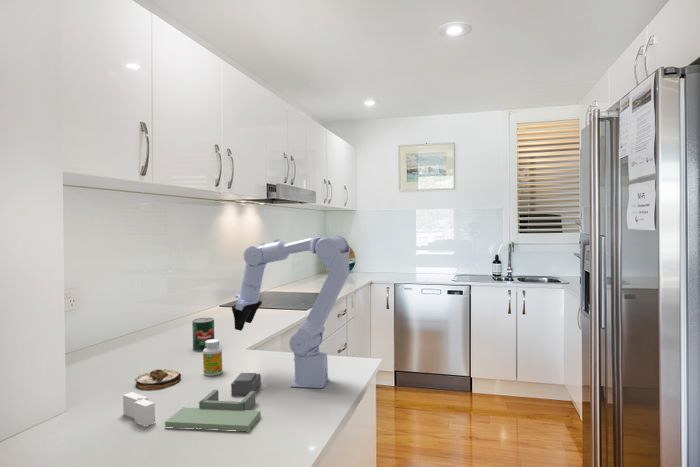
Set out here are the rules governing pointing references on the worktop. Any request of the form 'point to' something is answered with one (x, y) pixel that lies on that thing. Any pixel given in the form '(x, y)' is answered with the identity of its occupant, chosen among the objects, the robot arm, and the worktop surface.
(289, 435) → the worktop surface
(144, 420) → the white stepped block
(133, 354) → the worktop surface
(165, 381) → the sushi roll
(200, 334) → the canned tomato
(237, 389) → the dark grey block
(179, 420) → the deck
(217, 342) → the supplement bottle
